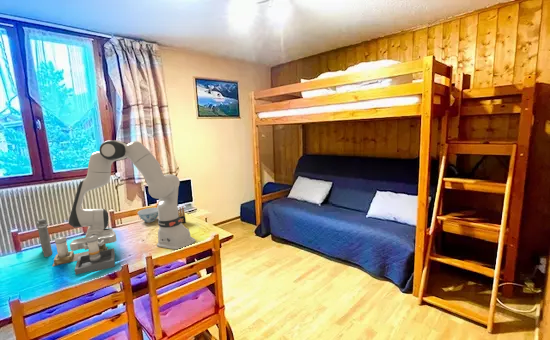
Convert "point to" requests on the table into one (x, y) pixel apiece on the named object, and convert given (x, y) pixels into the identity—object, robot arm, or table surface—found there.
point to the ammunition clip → (182, 215)
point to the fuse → (61, 247)
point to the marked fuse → (93, 248)
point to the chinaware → (148, 214)
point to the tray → (95, 262)
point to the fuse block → (73, 256)
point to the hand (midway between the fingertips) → (93, 246)
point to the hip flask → (44, 237)
